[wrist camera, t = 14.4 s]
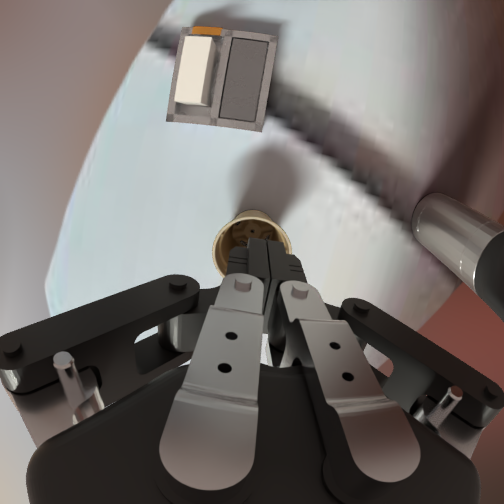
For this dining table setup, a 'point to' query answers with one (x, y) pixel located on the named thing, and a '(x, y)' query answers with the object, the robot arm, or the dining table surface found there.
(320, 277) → the dining table surface
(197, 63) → the panel
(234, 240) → the flower pot
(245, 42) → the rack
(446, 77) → the dining table surface
